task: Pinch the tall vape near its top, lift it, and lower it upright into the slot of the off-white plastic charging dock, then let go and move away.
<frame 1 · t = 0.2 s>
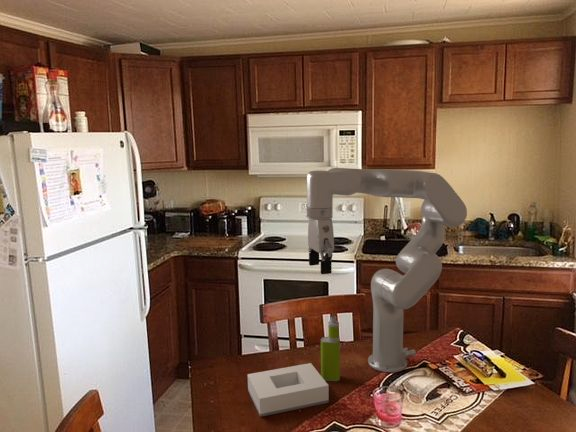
hand: (319, 269, 144), 35 cm above the table, tool pointing down, fingers open, 9 cm apart
charging dock: (287, 396, 139), on the table
vape: (330, 378, 149), on the table
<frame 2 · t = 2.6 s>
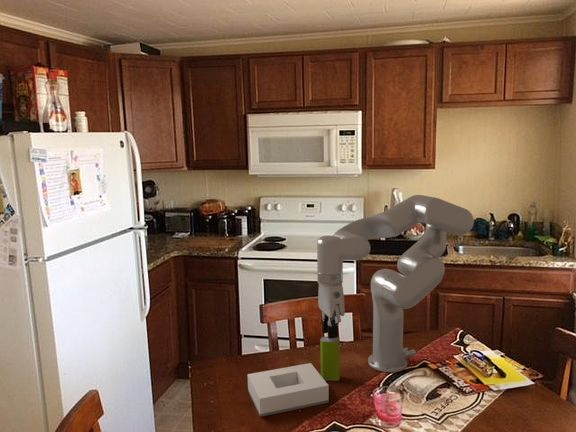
hand: (330, 334, 147), 14 cm above the table, tool pointing down, fingers closed on vape, 3 cm apart
vape: (330, 378, 149), on the table, touching gripper
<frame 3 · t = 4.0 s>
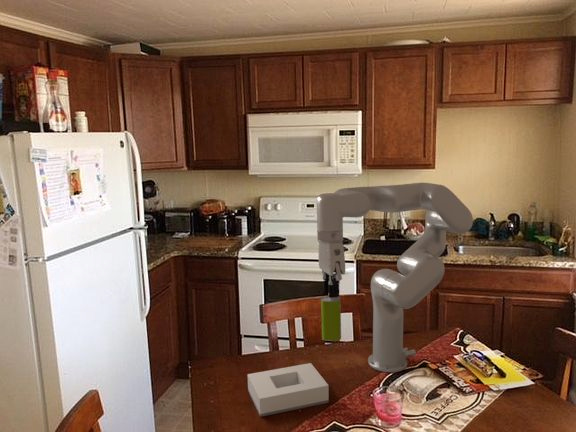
hand: (331, 294, 145), 27 cm above the table, tool pointing down, fingers closed on vape, 3 cm apart
vape: (331, 338, 148), point 13 cm above the table, touching gripper
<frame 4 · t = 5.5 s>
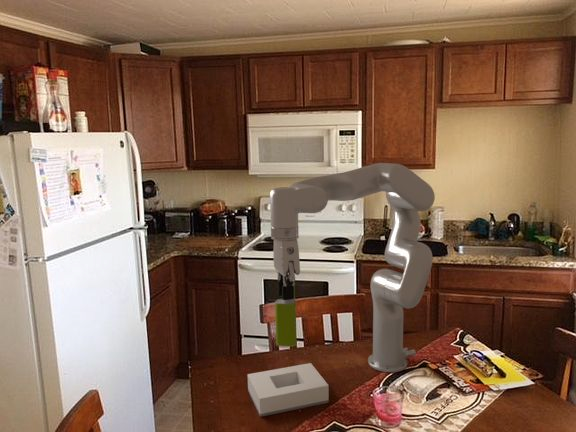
hand: (286, 296, 134), 30 cm above the table, tool pointing down, fingers closed on vape, 3 cm apart
vape: (286, 344, 137), point 16 cm above the table, touching gripper
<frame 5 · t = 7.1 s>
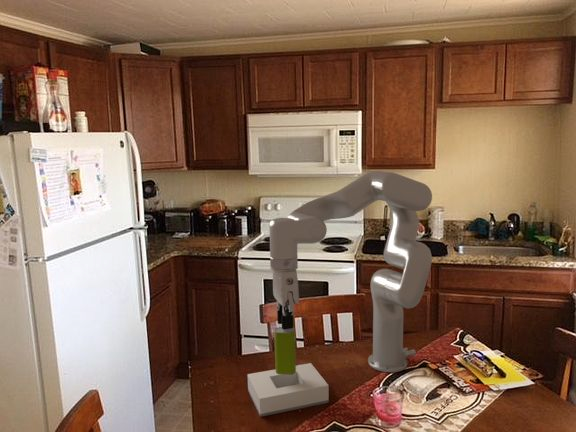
hand: (285, 325, 136), 22 cm above the table, tool pointing down, fingers closed on vape, 3 cm apart
vape: (286, 372, 138), point 7 cm above the table, touching gripper
when the fingers open (16 cm above the table, at t = 8.4 s): vape drops 1 cm, resting on charging dock.
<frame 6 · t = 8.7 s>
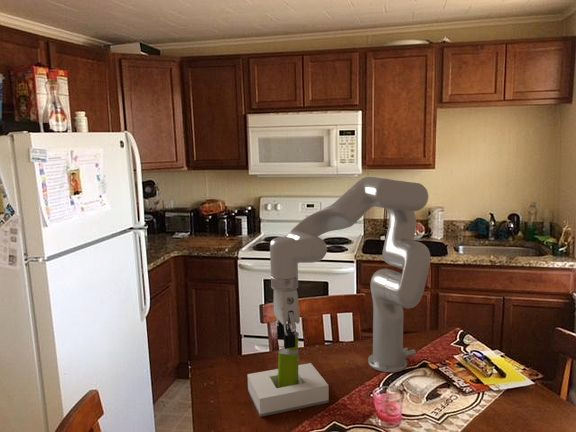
hand: (286, 342, 136), 17 cm above the table, tool pointing down, fingers open, 6 cm apart
vape: (287, 393, 140), point 1 cm above the table, touching charging dock
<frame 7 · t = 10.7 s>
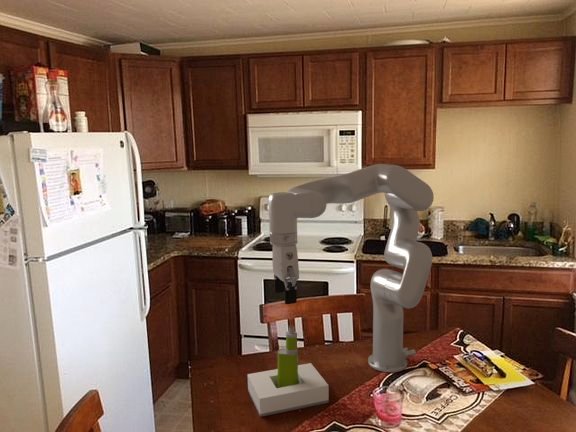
hand: (285, 297, 134), 30 cm above the table, tool pointing down, fingers open, 9 cm apart
nothing on the table moved.
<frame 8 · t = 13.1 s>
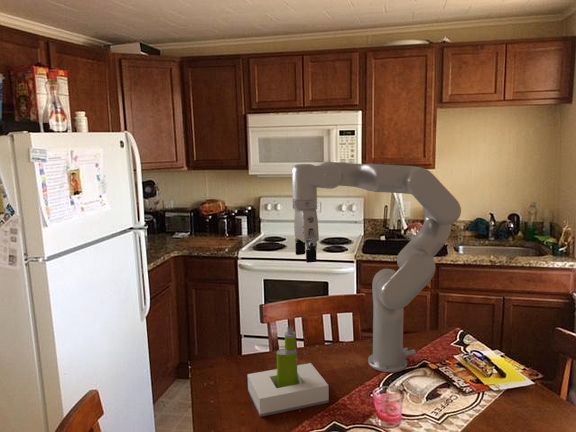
hand: (305, 258, 151), 36 cm above the table, tool pointing down, fingers open, 9 cm apart
nothing on the table moved.
at the end: vape 0.6 cm off-centre on the charging dock, point 0.7 cm above the charging dock's base; vape tilted 1°; the gripper is holding nothing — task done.
